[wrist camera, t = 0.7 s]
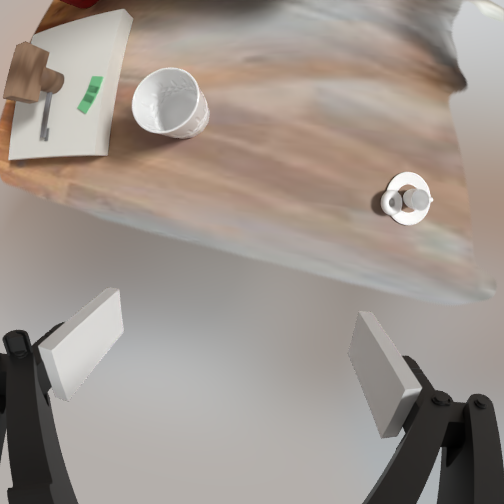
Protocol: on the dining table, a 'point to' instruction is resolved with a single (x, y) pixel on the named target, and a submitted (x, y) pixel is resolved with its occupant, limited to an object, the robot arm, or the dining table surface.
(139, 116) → the white cup
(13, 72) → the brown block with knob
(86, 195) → the dining table surface
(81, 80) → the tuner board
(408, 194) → the teacup and saucer
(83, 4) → the plastic cup
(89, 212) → the dining table surface
